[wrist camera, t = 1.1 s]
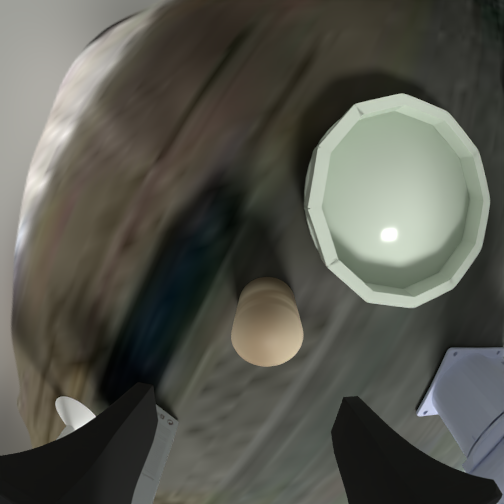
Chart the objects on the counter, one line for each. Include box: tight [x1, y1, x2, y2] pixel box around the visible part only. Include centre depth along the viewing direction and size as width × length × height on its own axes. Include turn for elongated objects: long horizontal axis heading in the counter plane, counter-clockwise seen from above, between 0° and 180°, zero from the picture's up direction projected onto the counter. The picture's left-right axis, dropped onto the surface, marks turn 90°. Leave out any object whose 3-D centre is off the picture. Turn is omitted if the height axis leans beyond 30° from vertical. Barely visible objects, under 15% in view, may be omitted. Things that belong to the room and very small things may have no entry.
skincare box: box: [131, 405, 179, 504], centre depth 18 cm, size 6×4×12 cm
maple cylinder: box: [231, 277, 303, 366], centre depth 18 cm, size 4×4×5 cm
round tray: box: [304, 93, 490, 308], centre depth 18 cm, size 14×14×3 cm
